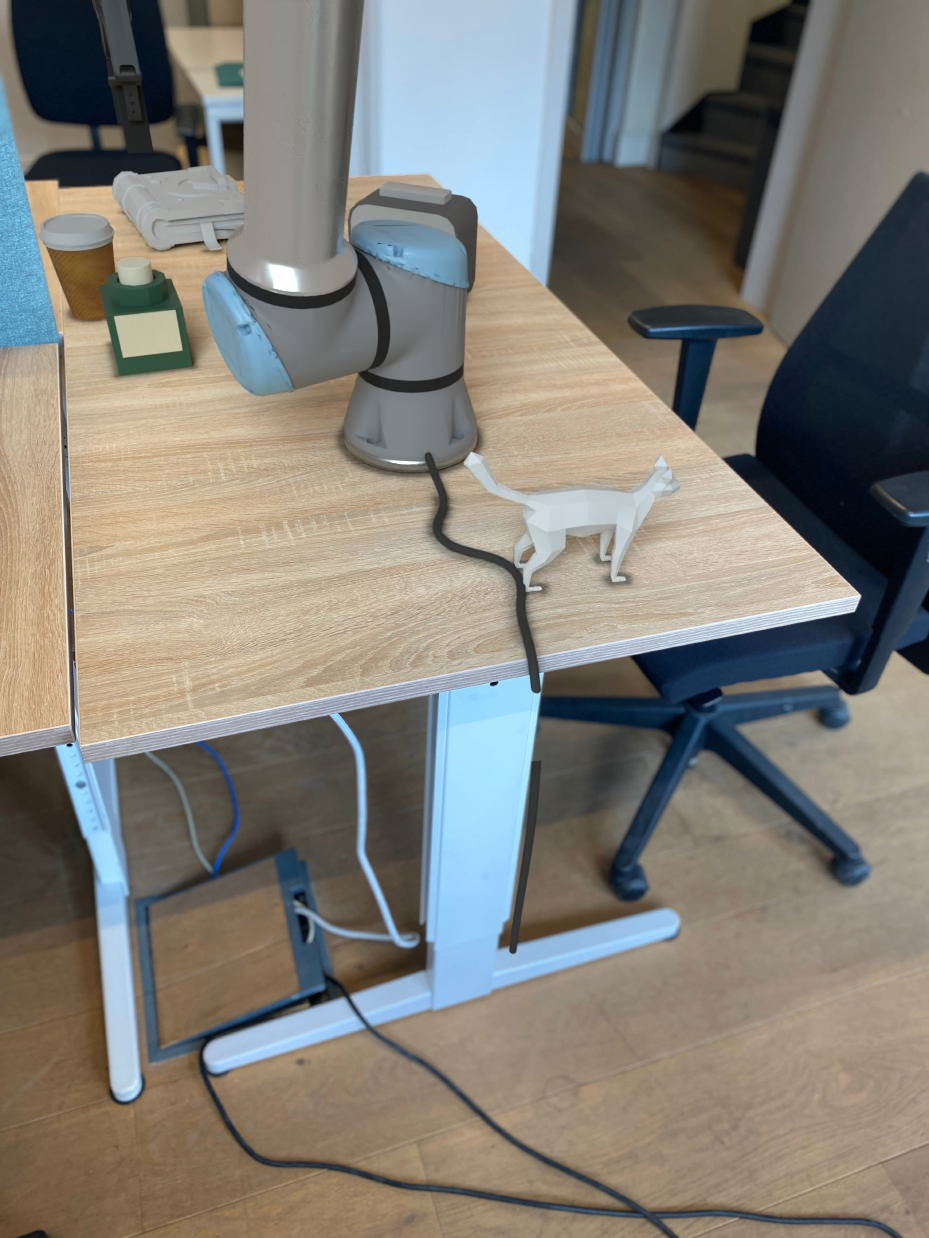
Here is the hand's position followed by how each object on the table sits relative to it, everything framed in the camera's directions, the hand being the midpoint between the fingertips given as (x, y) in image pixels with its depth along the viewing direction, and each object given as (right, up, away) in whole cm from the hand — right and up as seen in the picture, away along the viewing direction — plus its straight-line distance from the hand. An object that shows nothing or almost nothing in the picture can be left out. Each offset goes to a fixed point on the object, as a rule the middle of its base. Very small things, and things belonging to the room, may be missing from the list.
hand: (135, 137), depth 104 cm
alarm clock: (+31, -7, +32) cm, 45 cm away
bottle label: (-1, -23, +8) cm, 24 cm away
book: (-9, +11, +51) cm, 53 cm away
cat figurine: (+47, -52, -19) cm, 72 cm away
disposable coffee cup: (-14, -12, +23) cm, 30 cm away
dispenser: (-3, -21, +14) cm, 25 cm away
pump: (-2, -14, +7) cm, 16 cm away
